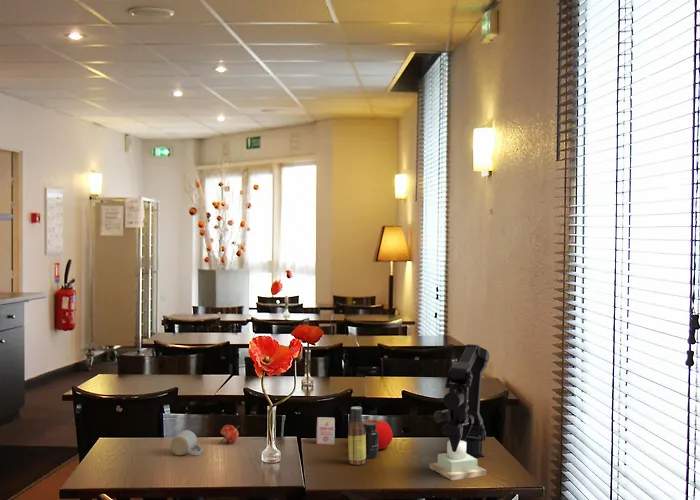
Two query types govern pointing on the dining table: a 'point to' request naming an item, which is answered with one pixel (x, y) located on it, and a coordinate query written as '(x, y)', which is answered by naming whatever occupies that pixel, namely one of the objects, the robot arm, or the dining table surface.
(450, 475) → the birch base slab
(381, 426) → the tomato
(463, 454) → the white cylinder
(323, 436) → the white red carton
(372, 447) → the supplement bottle
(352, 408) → the sauce bottle
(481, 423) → the robot arm
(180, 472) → the dining table surface
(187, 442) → the ceramic mug
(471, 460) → the sage top block
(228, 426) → the red mushroom
